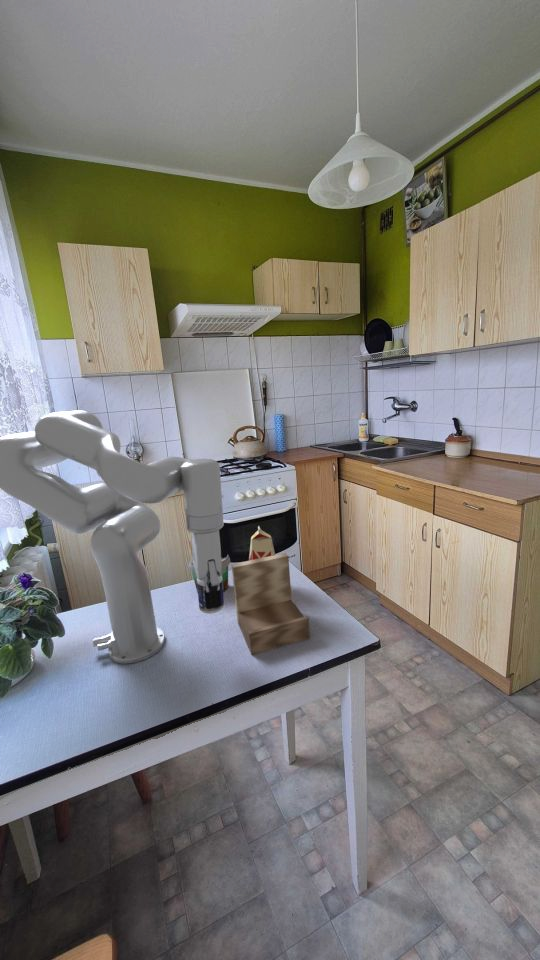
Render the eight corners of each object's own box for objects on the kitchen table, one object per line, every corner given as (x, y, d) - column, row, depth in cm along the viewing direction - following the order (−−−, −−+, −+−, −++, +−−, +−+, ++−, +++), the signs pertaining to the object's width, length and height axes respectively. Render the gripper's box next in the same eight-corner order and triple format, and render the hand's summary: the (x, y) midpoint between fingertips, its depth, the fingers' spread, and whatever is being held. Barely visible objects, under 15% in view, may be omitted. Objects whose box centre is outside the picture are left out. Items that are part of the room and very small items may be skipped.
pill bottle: (203, 617, 79) (199, 574, 77) (196, 604, 84) (192, 563, 82) (227, 610, 82) (225, 568, 79) (219, 598, 86) (217, 558, 84)
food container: (192, 602, 108) (188, 569, 106) (191, 592, 114) (187, 560, 111) (236, 593, 111) (232, 561, 108) (232, 584, 116) (229, 553, 114)
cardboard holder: (251, 654, 84) (244, 588, 81) (237, 623, 96) (231, 564, 93) (309, 638, 88) (305, 574, 85) (289, 609, 100) (285, 553, 97)
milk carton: (281, 599, 106) (276, 530, 101) (248, 601, 106) (241, 533, 102) (281, 583, 115) (276, 519, 110) (250, 584, 115) (244, 521, 111)
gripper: (182, 510, 85) (188, 584, 89) (191, 537, 69) (199, 625, 73) (215, 506, 87) (220, 578, 91) (231, 531, 71) (237, 617, 76)
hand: (211, 598), depth 82 cm, fingers closed on pill bottle, 5 cm apart
